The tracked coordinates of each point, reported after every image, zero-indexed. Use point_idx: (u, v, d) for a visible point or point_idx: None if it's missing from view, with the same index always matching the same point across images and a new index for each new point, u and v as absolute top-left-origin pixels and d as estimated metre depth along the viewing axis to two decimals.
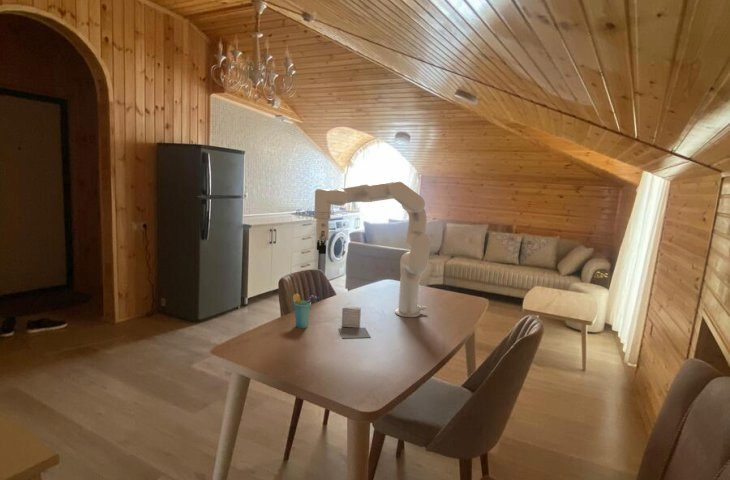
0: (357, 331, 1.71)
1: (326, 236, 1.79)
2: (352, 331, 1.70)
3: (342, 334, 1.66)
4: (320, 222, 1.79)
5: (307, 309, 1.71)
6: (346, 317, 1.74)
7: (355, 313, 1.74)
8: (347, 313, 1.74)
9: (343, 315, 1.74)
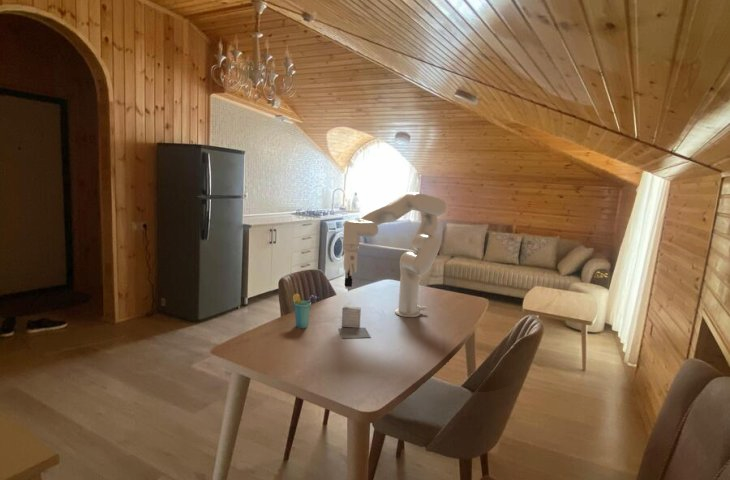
0: (357, 331, 1.71)
1: (355, 269, 1.77)
2: (352, 331, 1.70)
3: (342, 334, 1.66)
4: (349, 255, 1.76)
5: (307, 309, 1.71)
6: (346, 317, 1.74)
7: (355, 313, 1.74)
8: (347, 313, 1.74)
9: (343, 315, 1.74)
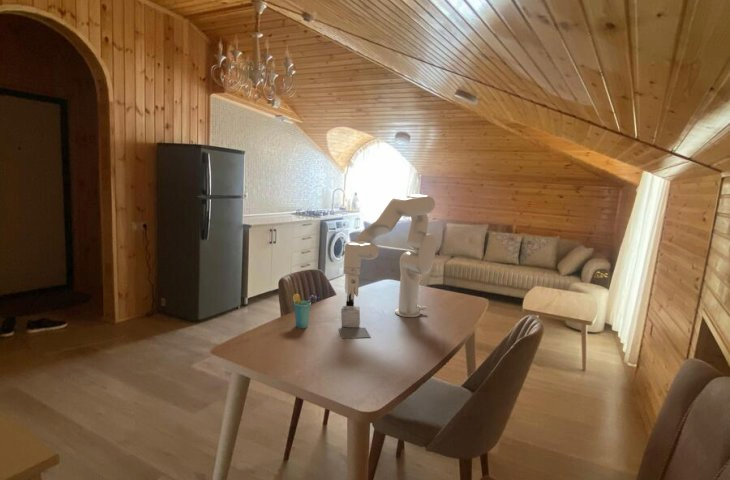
0: (357, 331, 1.71)
1: (356, 292, 1.73)
2: (352, 331, 1.70)
3: (342, 334, 1.66)
4: (350, 278, 1.72)
5: (307, 309, 1.71)
6: (345, 318, 1.74)
7: (354, 314, 1.73)
8: (346, 314, 1.73)
9: (342, 316, 1.74)
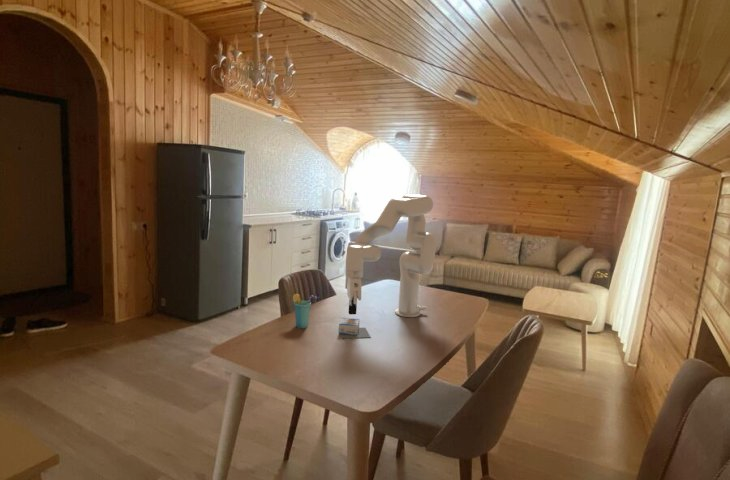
0: None
1: (359, 296, 1.68)
2: None
3: (342, 334, 1.66)
4: (353, 282, 1.67)
5: (307, 309, 1.71)
6: None
7: None
8: None
9: None
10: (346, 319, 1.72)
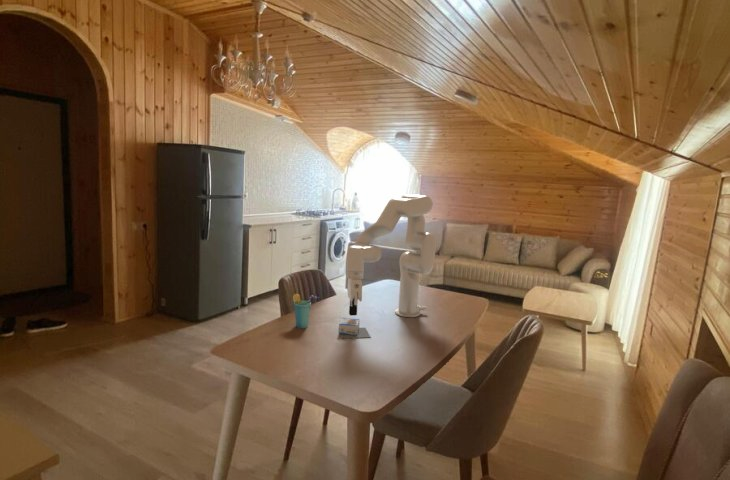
0: None
1: (359, 297, 1.67)
2: None
3: (342, 334, 1.66)
4: (353, 283, 1.66)
5: (307, 309, 1.71)
6: None
7: None
8: None
9: None
10: (346, 319, 1.72)
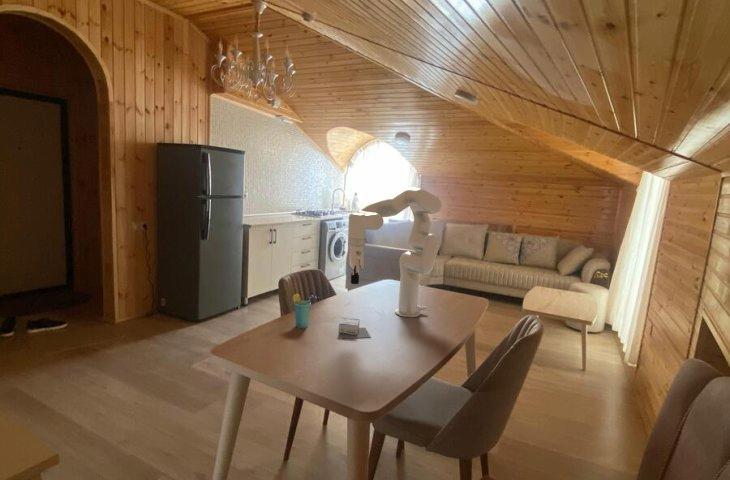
0: None
1: (361, 265, 1.65)
2: None
3: (342, 334, 1.66)
4: (355, 250, 1.64)
5: (307, 309, 1.71)
6: None
7: None
8: None
9: None
10: (346, 319, 1.72)
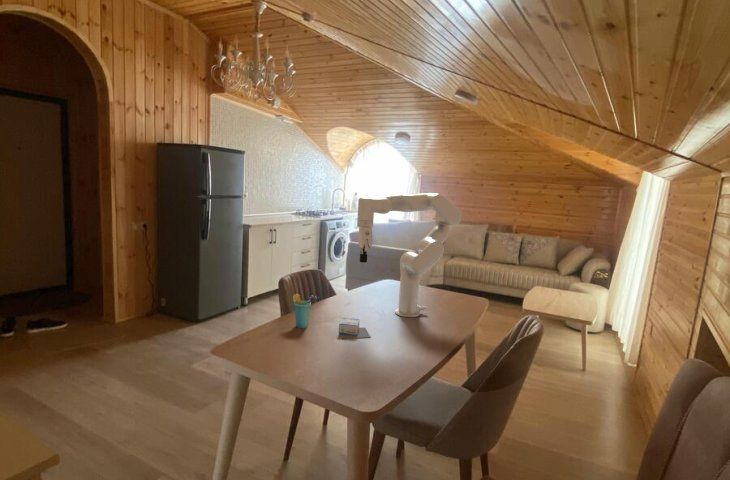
0: None
1: (370, 244, 1.81)
2: None
3: (342, 334, 1.66)
4: (364, 230, 1.80)
5: (307, 309, 1.71)
6: None
7: None
8: None
9: None
10: (346, 319, 1.72)
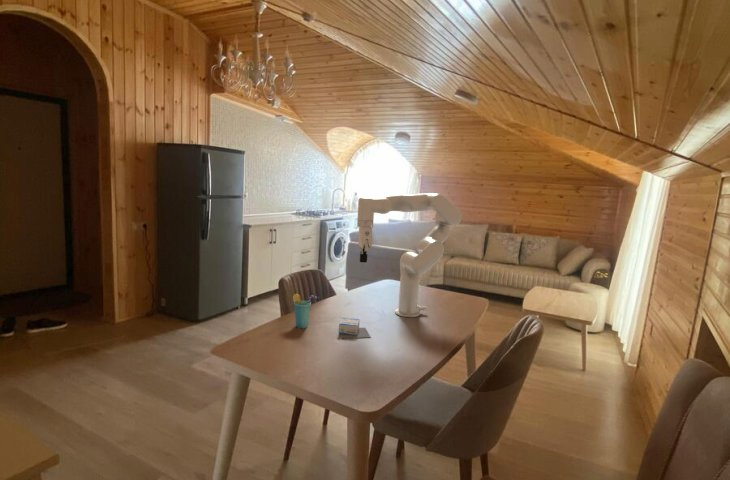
0: None
1: (370, 244, 1.81)
2: None
3: (342, 334, 1.66)
4: (364, 230, 1.80)
5: (307, 309, 1.71)
6: None
7: None
8: None
9: None
10: (346, 319, 1.72)
